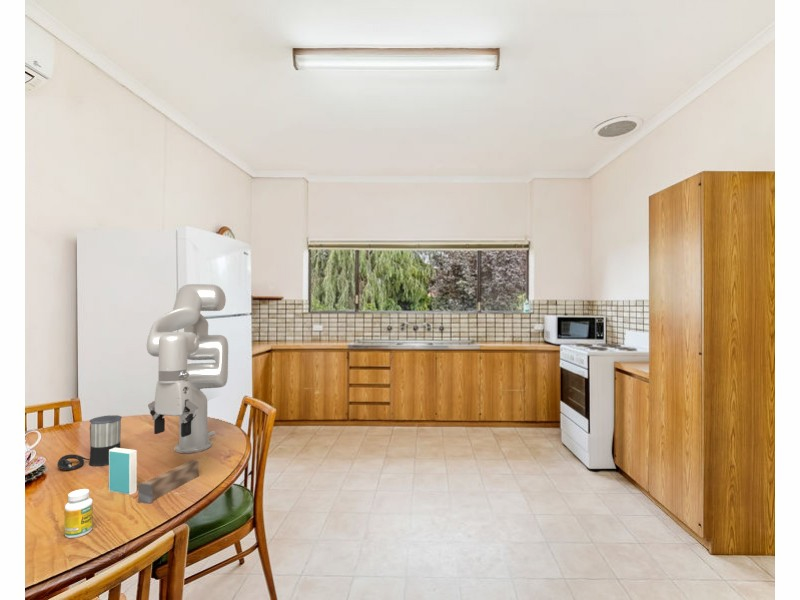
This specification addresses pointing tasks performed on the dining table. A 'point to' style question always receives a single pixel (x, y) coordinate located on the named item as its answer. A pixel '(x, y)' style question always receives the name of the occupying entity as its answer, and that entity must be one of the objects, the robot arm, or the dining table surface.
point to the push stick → (167, 481)
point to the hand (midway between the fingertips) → (172, 434)
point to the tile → (123, 470)
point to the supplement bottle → (78, 514)
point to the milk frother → (98, 442)
